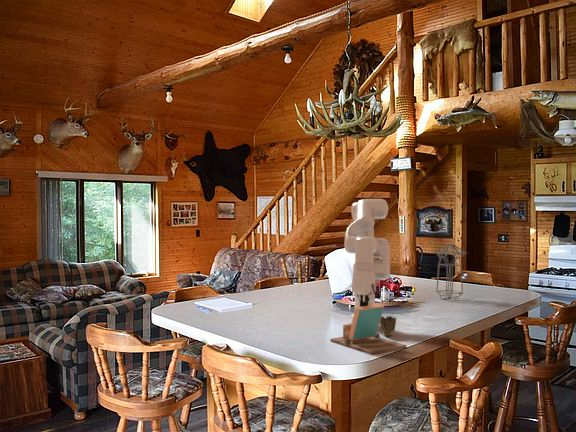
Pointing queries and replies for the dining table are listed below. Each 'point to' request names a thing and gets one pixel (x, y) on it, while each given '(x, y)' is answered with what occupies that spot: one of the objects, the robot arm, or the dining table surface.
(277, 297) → the dining table surface
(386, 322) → the cup
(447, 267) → the geometric lantern
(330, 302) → the dining table surface
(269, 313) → the dining table surface
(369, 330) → the tile
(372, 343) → the walnut board
